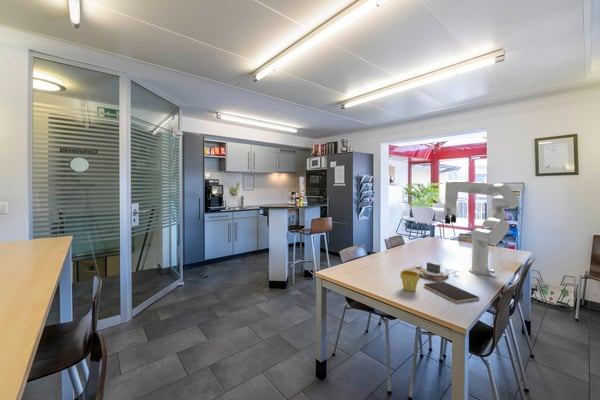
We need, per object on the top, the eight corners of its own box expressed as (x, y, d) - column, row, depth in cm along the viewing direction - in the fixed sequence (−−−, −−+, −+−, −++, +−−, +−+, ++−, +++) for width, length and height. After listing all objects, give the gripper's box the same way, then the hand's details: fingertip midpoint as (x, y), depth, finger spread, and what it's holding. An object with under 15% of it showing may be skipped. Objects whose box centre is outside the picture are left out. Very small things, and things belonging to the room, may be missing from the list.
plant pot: (397, 285, 156) (397, 270, 156) (414, 285, 156) (414, 270, 155) (403, 292, 146) (404, 275, 145) (422, 292, 146) (422, 276, 145)
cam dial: (446, 274, 171) (446, 264, 170) (438, 278, 164) (438, 267, 163) (424, 268, 183) (424, 259, 182) (415, 271, 176) (416, 261, 175)
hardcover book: (455, 304, 133) (455, 299, 133) (423, 287, 155) (423, 283, 155) (479, 300, 137) (479, 296, 137) (444, 285, 159) (444, 281, 159)
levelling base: (448, 277, 171) (448, 272, 171) (439, 282, 162) (439, 276, 162) (414, 268, 190) (414, 263, 190) (404, 272, 181) (404, 267, 181)
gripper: (450, 198, 184) (449, 221, 185) (440, 198, 173) (439, 223, 174) (462, 198, 178) (461, 222, 179) (452, 199, 167) (451, 224, 168)
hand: (450, 223), depth 176 cm, fingers open, 9 cm apart
